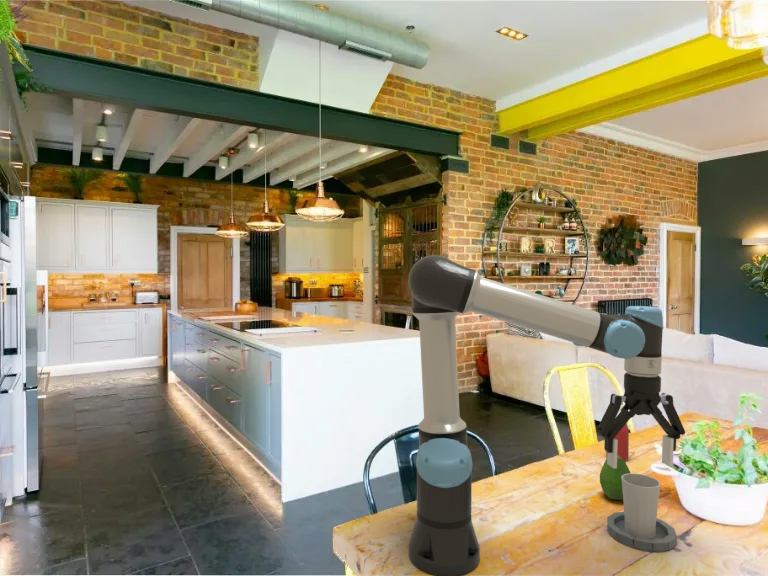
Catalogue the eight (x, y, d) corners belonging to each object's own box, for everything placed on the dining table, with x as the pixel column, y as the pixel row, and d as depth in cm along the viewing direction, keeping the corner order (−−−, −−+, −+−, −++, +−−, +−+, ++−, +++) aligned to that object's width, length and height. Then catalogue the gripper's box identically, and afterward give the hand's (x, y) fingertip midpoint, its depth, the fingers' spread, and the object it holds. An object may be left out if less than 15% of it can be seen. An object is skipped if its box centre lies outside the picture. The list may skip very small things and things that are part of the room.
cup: (665, 542, 108) (665, 489, 108) (626, 538, 110) (626, 486, 109) (653, 524, 116) (653, 474, 116) (616, 521, 118) (617, 472, 117)
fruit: (632, 495, 133) (632, 451, 133) (633, 507, 126) (633, 461, 126) (599, 490, 137) (600, 447, 136) (599, 502, 129) (599, 457, 129)
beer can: (612, 453, 165) (612, 418, 164) (632, 459, 160) (632, 422, 159) (602, 458, 160) (602, 421, 160) (622, 464, 155) (623, 426, 155)
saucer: (630, 554, 105) (630, 544, 105) (595, 521, 119) (595, 513, 119) (690, 550, 107) (690, 541, 107) (649, 518, 121) (649, 510, 121)
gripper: (599, 377, 107) (597, 473, 107) (705, 376, 110) (702, 470, 110) (582, 370, 114) (580, 460, 115) (681, 370, 117) (678, 457, 118)
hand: (639, 465), depth 113 cm, fingers open, 13 cm apart
